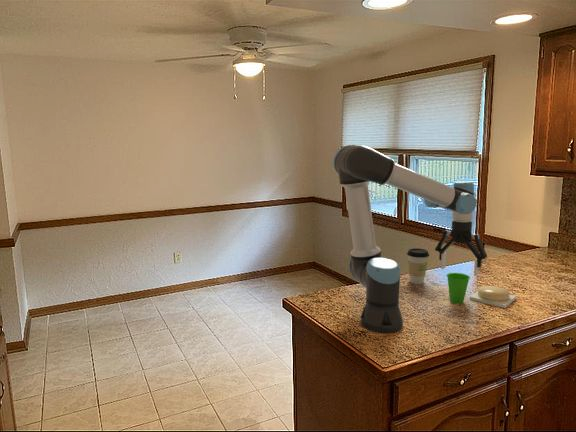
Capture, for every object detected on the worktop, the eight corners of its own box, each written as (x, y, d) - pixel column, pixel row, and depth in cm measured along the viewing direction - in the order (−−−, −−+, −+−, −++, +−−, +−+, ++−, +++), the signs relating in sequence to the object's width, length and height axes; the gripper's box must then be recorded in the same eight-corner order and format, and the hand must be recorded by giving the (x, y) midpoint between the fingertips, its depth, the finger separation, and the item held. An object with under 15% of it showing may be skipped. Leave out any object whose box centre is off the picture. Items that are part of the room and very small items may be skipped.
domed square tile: (505, 308, 176) (505, 299, 175) (469, 299, 185) (470, 290, 185) (516, 298, 186) (517, 290, 185) (482, 290, 195) (482, 282, 195)
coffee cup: (430, 285, 203) (432, 253, 200) (408, 285, 203) (410, 253, 200) (424, 278, 213) (425, 247, 210) (403, 278, 213) (405, 247, 210)
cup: (464, 297, 187) (466, 272, 185) (471, 306, 178) (473, 279, 176) (442, 297, 188) (444, 272, 186) (448, 305, 179) (449, 279, 177)
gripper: (498, 222, 171) (494, 275, 175) (436, 215, 188) (434, 263, 192) (491, 225, 166) (487, 280, 170) (428, 218, 183) (426, 267, 187)
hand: (459, 271), depth 181 cm, fingers open, 13 cm apart
